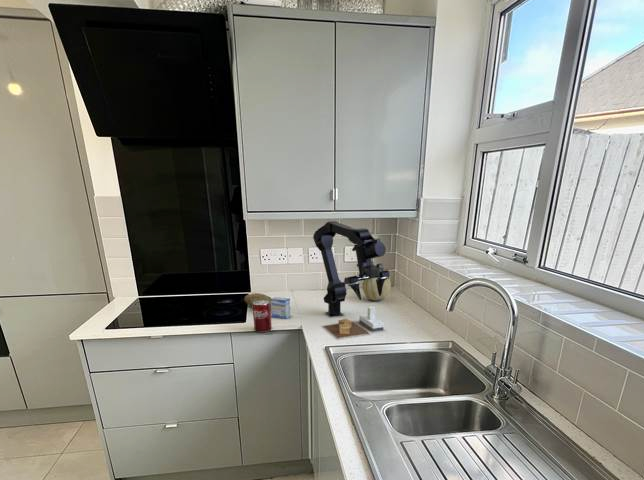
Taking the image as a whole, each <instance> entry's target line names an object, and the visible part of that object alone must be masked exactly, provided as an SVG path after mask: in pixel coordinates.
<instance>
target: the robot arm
mask: <svg viewBox="0 0 644 480" xmlns="http://www.w3.org/2000/svg"><path fill="white" fill-rule="evenodd" d="M336 234H337V235H340V236H342V237H345V238H347V239H348V241H349V242H350V243H352V244H353V245H354V246H353V247H352V249H351V251H352V252H355V254H356V262H357V264H356V268H358V274H357V275H352V276H347V277H344V279H343V281H341V279H340V277H339V273H338V268H337V265H336V261H335V257H334V252H333V249H332V248H333V244H334V237H335V236H336ZM312 239H313V242H314V244H315V247H316V248H317V249H318V250H319V251H320V253H321V258H322V261H323V265H324V269H325V274H326V277H327V281H328V283H327V286H326V292H327V293H325V295H324V297H323V302H324V304H327V305H328V306H327V307H328V308H327V309H328V311H326V312H325V314H326V315H327V316H329V317H330V318H334V317H341V316H344V313H342V312H341V310H342V309H341V306H342V305H341V303H342V302H345V300H346V297H347V291H348V289H347V287H346V285H347V286H348V287H350V288H351V289H352V291H353V292H354V293H355V295H356V297H357V299H358V300H359V301H362V294H361V289H360V285H361V283H360V281H364V280H367V279H372V278H377V280H376V284H377V289H378V294H379V296H381V294H382V288H383V284H384V282H385V280H386V279H387V278H389V277H391V273H390V271H389V270H388V269H386V270H384V264H383V263H377V264H376V265H375V262H374V261H373V260H372V259H376V258H381V257H384V256H385V254H386V252H387V251H386V250H387V249H386V248H387V247H386V246H385V244H384V243H383V242H382V241H381V239H380V238H377V239H375V238H374V237H373V235H372V234H371V233H370V231H369V229H368V228H363V227H351V226H349V225H346V224H344V223H341V222H338V221H336V220H330V221H327V222H325V224H324V225H323V226H321V227H319V228H317V229H316V230H315V232H314V233H313V236H312ZM386 277H387V278H386Z"/></svg>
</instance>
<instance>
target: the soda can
mask: <svg viewBox="0 0 644 480" xmlns="http://www.w3.org/2000/svg"><path fill="white" fill-rule="evenodd" d="M251 307H252V316H253V317H252V319H253V329H254V331H255V332H256V333H268V332H270V331H272V329H273V327H272V325H273V324H272V315H271V309H270V303H269V302H268V301H255V302H253V304H252V306H251Z"/></svg>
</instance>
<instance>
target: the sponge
mask: <svg viewBox="0 0 644 480" xmlns="http://www.w3.org/2000/svg"><path fill="white" fill-rule="evenodd" d="M272 298H273V297H271V296H269V295H267V294H264V293H259V292H253V293H250V294H246V295H245V296H244V302H245V304H247V305H249V306H250V307H252V304H253V302H255V301H268V302H269V303H270V309H271V299H272Z"/></svg>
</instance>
